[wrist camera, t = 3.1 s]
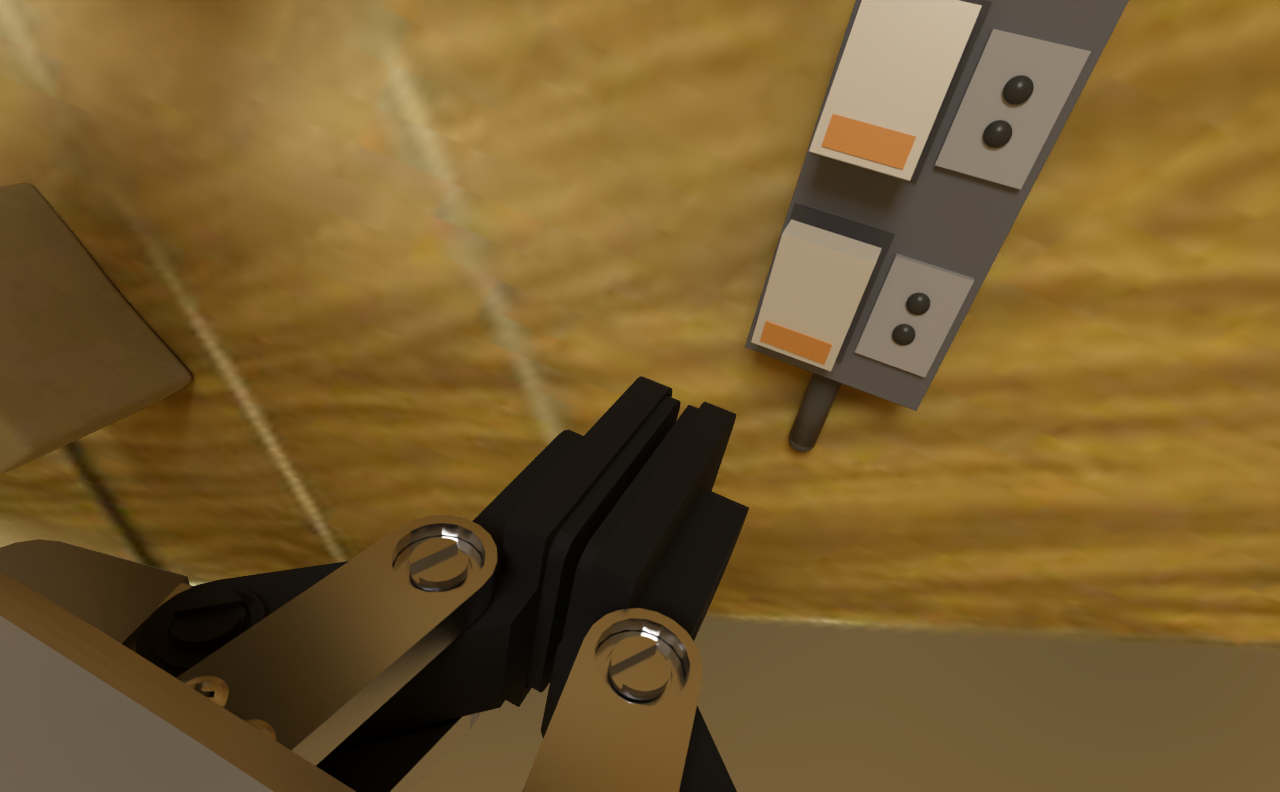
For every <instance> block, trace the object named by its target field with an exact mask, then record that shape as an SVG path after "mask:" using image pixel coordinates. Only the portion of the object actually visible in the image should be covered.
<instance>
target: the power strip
mask: <svg viewBox="0 0 1280 792" xmlns="http://www.w3.org/2000/svg"><path fill="white" fill-rule="evenodd" d="M861 1H862V0H856V2H855V5H854V8H853V11H852V14H851V17H850V20H849V23H848V26H847V30H846V33H845V36H844V39H843V42H842V45H841V48H840V51H839V55H838V58H837V61H836V64H835V67H834V70H833V73H832V76H831V79H830V83H829V86H828V89H827V92H826V95H825V98H824V101H823V104H822V108H821V111H820V114H819V117H818V120H817V123H816V126H815V129H814V133H813V136H812V139H811V142H810V145H809V148H808V151H807V154H806V157H805V161H804V164H803V167H802V170H801V173H800V176H799V179H798V182H797V186H796V189H795V192H794V195H793V198H792V201H791V204H790V207H789V210H788V214H787V217H786V220H785V223H784V226H783V229H782V232H781V235H780V239H779V242H778V245H777V248H776V251H775V254H774V257H773V260H772V264H771V267H770V270H769V273H768V276H767V279H766V282H765V285H764V288H763V292H762V295H761V298H760V301H759V304H758V307H757V310H756V313H755V317H754V320H753V323H752V326H751V329H750V332H749V335H748V338H747V341H746V345H745V347H746V348H749V349H751V350H754V351H757V352H759V353H762V354H765V355H768V356H770V357H773V358H776V359H778V360H781V361H784V362H786V363H789V364H792V365H794V366H797V367H800V368H802V369H805V370H808V371H810V372H813V376H812V378H811V381H810V383H809V386H808V388H807V391H806V393H805V396H804V398H803V401H802V403H801V406H800V408H799V411H798V414H797V416H796V419H795V421H794V424H793V426H792V429H791V431H790V434H789V444H790V446H791V447H792V448H793V449H794V450H796V451H798V452H807V451H809V450H811V449H812V448H813V447H814V445H815V443H816V441H817V439H818V436H819V434H820V432H821V429H822V427H823V425H824V422H825V420H826V418H827V415H828V413H829V411H830V408H831V406H832V404H833V401H834V399H835V397H836V394H837V392H838V390H839V387H840V385H841V383H843V384H845V385H848V386H851V387H853V388H856V389H859V390H861V391H864V392H867V393H870V394H872V395H875V396H878V397H880V398H883V399H886V400H888V401H891V402H894V403H896V404H899V405H902V406H904V407H907V408H910V409H912V410H915V411H917V409H918V407H919V405H920V403H921V401H922V399H923V397H924V395H925V393H926V392H927V390H928V388H929V386H930V384H931V382H932V380H933V378H934V376H935V374H936V372H937V370H938V368H939V366H940V364H941V363H942V361H943V359H944V357H945V355H946V353H947V351H948V349H949V347H950V345H951V343H952V341H953V339H954V337H955V335H956V334H957V332H958V330H959V328H960V326H961V324H962V322H963V320H964V318H965V316H966V314H967V312H968V310H969V308H970V306H971V305H972V303H973V301H974V299H975V297H976V295H977V293H978V291H979V289H980V287H981V285H982V283H983V281H984V279H985V277H986V276H987V274H988V272H989V270H990V268H991V266H992V264H993V262H994V260H995V258H996V256H997V254H998V252H999V250H1000V248H1001V246H1002V245H1003V243H1004V241H1005V239H1006V237H1007V235H1008V233H1009V231H1010V229H1011V227H1012V225H1013V223H1014V221H1015V219H1016V217H1017V216H1018V214H1019V212H1020V210H1021V208H1022V206H1023V204H1024V202H1025V200H1026V198H1027V196H1028V194H1029V192H1030V190H1031V188H1032V187H1033V185H1034V183H1035V181H1036V179H1037V177H1038V175H1039V173H1040V171H1041V169H1042V167H1043V165H1044V163H1045V161H1046V159H1047V158H1048V156H1049V154H1050V152H1051V150H1052V148H1053V146H1054V144H1055V142H1056V140H1057V138H1058V136H1059V134H1060V132H1061V130H1062V129H1063V127H1064V125H1065V123H1066V121H1067V119H1068V117H1069V115H1070V113H1071V111H1072V109H1073V107H1074V105H1075V103H1076V101H1077V100H1078V98H1079V96H1080V94H1081V92H1082V90H1083V88H1084V86H1085V84H1086V82H1087V80H1088V78H1089V76H1090V74H1091V72H1092V71H1093V69H1094V67H1095V65H1096V63H1097V61H1098V59H1099V57H1100V55H1101V53H1102V51H1103V49H1104V47H1105V45H1106V43H1107V41H1108V40H1109V38H1110V36H1111V34H1112V32H1113V30H1114V28H1115V26H1116V24H1117V22H1118V20H1119V18H1120V16H1121V14H1122V12H1123V11H1124V9H1125V7H1126V5H1127V3H1128V1H1129V0H959V1H964V2H968V3H973V4H977V5H982V7H981V9H980V12H979V14H978V17H977V19H976V22H975V24H974V26H973V29H972V31H971V34H970V36H969V39H968V41H967V43H966V46H965V48H964V51H963V53H962V56H961V58H960V61H959V63H958V65H957V68H956V70H955V73H954V75H953V78H952V80H951V82H950V85H949V87H948V90H947V92H946V95H945V97H944V99H943V102H942V104H941V107H940V109H939V112H938V114H937V116H936V119H935V121H934V124H933V126H932V129H931V131H930V133H929V136H928V138H927V141H926V143H925V146H924V148H923V150H922V153H921V155H920V158H919V160H918V163H917V165H916V168H915V170H914V172H913V175H912V177H911V180H910V181H906V180H903V179H899V178H896V177H893V176H889V175H886V174H882V173H879V172H875V171H872V170H869V169H865V168H862V167H858V166H855V165H851V164H848V163H845V162H841V161H838V160H834V159H831V158H827V157H824V156H821V155H817V154H814V153H811V152H810V151H809V149H810V147H811V144H812V141H813V138H814V135H815V132H816V129H817V127H818V124H819V121H820V118H821V115H822V112H823V109H824V107H825V104H826V101H827V98H828V95H829V92H830V89H831V87H832V84H833V81H834V78H835V75H836V72H837V69H838V67H839V64H840V61H841V58H842V55H843V52H844V49H845V47H846V44H847V41H848V38H849V35H850V32H851V29H852V27H853V24H854V21H855V18H856V15H857V12H858V9H859V7H860V4H861ZM791 219H792V220H795V221H798V222H801V223H804V224H807V225H810V226H814V227H817V228H820V229H823V230H826V231H829V232H832V233H836V234H839V235H842V236H845V237H848V238H851V239H854V240H858V241H861V242H864V243H867V244H870V245H873V246H876V247H880V248H882V249H881V252H880V254H879V257H878V259H877V262H876V264H875V267H874V269H873V272H872V274H871V276H870V279H869V281H868V284H867V286H866V288H865V291H864V293H863V296H862V298H861V300H860V303H859V305H858V308H857V310H856V312H855V315H854V317H853V320H852V322H851V324H850V327H849V329H848V332H847V334H846V337H845V339H844V341H843V344H842V346H841V349H840V351H839V353H838V356H837V358H836V361H835V363H834V365H833V368H832V370H831V371H828V370H825V369H823V368H820V367H817V366H814V365H812V364H809V363H806V362H804V361H801V360H798V359H796V358H793V357H790V356H787V355H785V354H782V353H779V352H777V351H774V350H771V349H768V348H766V347H763V346H760V345H758V344H755V343H752V342H751V341H752V337H753V334H754V330H755V327H756V323H757V320H758V316H759V313H760V309H761V306H762V302H763V299H764V296H765V292H766V289H767V285H768V282H769V278H770V275H771V271H772V268H773V264H774V261H775V257H776V254H777V250H778V247H779V243H780V240H781V237H782V233H783V232H784V230H785V229H786V227H787V225H788V224H789V222H790V221H791Z"/></svg>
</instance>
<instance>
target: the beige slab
mask: <svg viewBox="0 0 1280 792" xmlns="http://www.w3.org/2000/svg"><path fill="white" fill-rule="evenodd" d="M191 380H192V376H191V374H190V373H189V371H188V370H187V369H186V368H185V367H184V365H183V364H182V363H181V362H180V361H179V360H178V359H177V358H176V357H175V355H174V354H173V353H172V352H171V351H170V350H169V349H168V348H167V347H166V345H165V344H164V343H163V342H162V341H161V340H160V339H159V338H158V336H157V335H156V334H155V333H154V332H153V331H152V330H151V329H150V327H149V326H148V325H147V324H146V323H145V322H144V321H143V320H142V318H141V317H140V316H139V315H138V314H137V313H136V312H135V310H134V309H133V308H132V307H131V306H130V305H129V303H128V302H127V301H126V300H125V299H124V297H123V296H122V295H121V294H120V293H119V291H118V290H117V289H116V288H115V287H114V285H113V284H112V283H111V282H110V280H109V279H108V278H107V277H106V275H105V274H104V273H103V271H102V270H101V269H100V268H99V266H98V265H97V264H96V262H95V261H94V260H93V258H92V257H91V256H90V254H89V253H88V252H87V250H86V249H85V248H84V247H83V245H82V244H81V243H80V242H79V240H78V239H77V238H76V237H75V235H74V234H73V233H72V232H71V230H70V229H69V228H68V227H67V225H66V224H65V223H64V222H63V220H62V219H61V218H60V217H59V216H58V214H57V213H56V212H55V211H54V209H53V208H52V207H51V206H50V205H49V203H48V202H47V201H46V200H45V198H44V197H43V196H42V195H41V194H40V193H39V192H38V191H37V190H36V189H35V188H34V187H33V186H31V185H29V184H26V183H23V184H15V185H9V186H3V187H0V473H4V472H8V471H11V470H13V469H15V468H17V467H19V466H21V465H24V464H26V463H28V462H30V461H32V460H34V459H37V458H39V457H41V456H43V455H45V454H47V453H49V452H52V451H54V450H56V449H58V448H60V447H62V446H64V445H67V444H69V443H71V442H73V441H75V440H77V439H79V438H82V437H84V436H86V435H88V434H90V433H92V432H95V431H97V430H99V429H101V428H103V427H105V426H107V425H109V424H112V423H114V422H116V421H118V420H120V419H122V418H124V417H127V416H129V415H131V414H133V413H135V412H137V411H139V410H142V409H144V408H146V407H148V406H150V405H152V404H154V403H157V402H159V401H161V400H163V399H164V398H166V397H168V396H170V395H171V394H173V393H175V392H177V391H178V390H180V389H182V388H183V387H185V386H186V385H188V384H189V383H190V382H191Z"/></svg>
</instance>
